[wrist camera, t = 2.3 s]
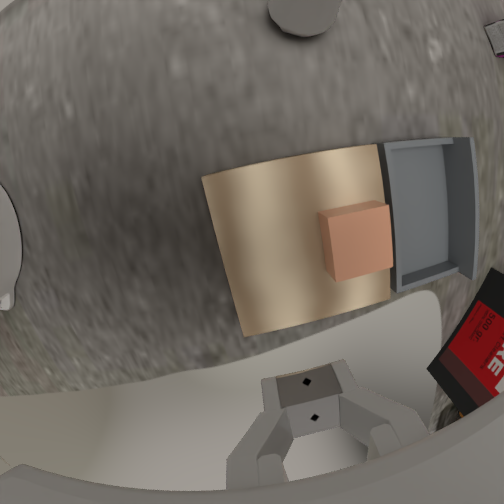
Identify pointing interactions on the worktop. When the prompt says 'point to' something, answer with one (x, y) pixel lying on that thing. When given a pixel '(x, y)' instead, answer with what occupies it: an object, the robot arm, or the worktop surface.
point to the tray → (431, 208)
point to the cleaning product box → (475, 350)
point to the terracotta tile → (356, 239)
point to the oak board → (291, 235)
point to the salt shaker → (304, 15)
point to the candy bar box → (496, 37)
